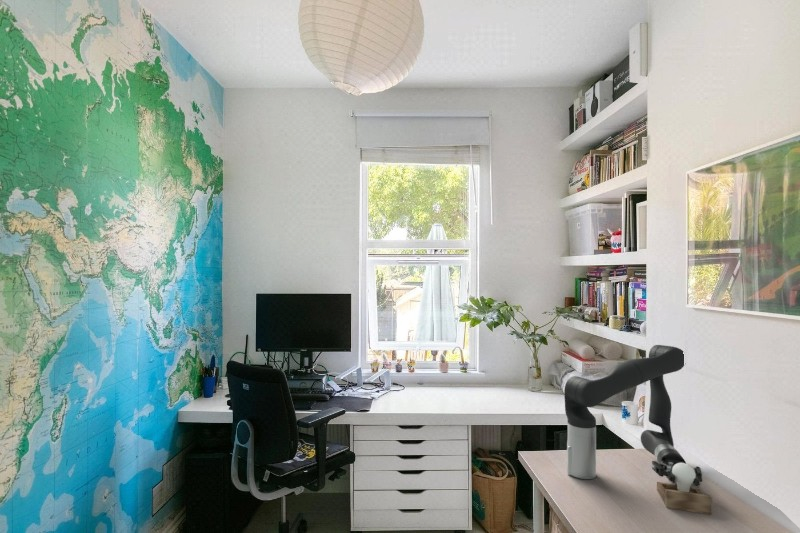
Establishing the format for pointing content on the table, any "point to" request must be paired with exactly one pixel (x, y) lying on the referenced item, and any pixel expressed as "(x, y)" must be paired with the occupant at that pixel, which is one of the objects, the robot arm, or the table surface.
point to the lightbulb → (683, 476)
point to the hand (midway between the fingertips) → (685, 481)
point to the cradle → (684, 498)
